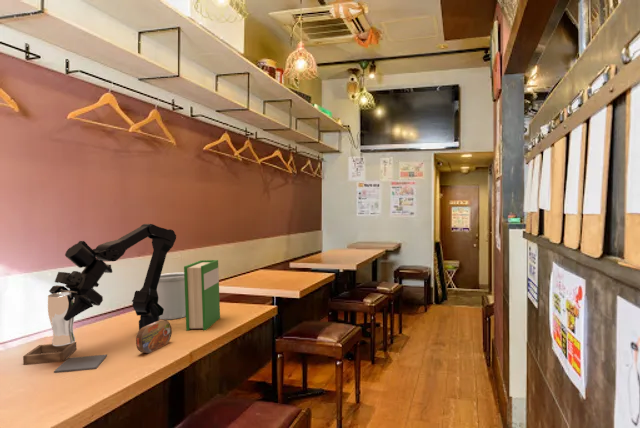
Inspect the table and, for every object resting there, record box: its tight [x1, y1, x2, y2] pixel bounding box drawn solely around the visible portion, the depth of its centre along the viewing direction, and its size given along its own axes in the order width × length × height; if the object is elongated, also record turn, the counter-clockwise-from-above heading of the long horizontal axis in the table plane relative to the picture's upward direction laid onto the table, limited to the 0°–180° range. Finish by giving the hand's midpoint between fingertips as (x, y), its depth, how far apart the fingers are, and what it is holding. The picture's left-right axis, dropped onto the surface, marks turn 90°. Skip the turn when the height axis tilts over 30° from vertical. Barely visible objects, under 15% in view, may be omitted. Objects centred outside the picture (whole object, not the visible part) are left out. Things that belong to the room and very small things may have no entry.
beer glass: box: [47, 292, 76, 346], centre depth 131 cm, size 7×7×15 cm
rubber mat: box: [53, 354, 108, 374], centre depth 128 cm, size 11×11×1 cm
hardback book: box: [183, 259, 221, 332], centre depth 169 cm, size 18×7×24 cm, turn 176°
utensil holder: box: [157, 271, 186, 321], centre depth 184 cm, size 15×15×18 cm
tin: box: [135, 319, 173, 354], centre depth 141 cm, size 15×3×8 cm, turn 163°
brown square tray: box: [22, 341, 77, 366], centre depth 135 cm, size 11×11×2 cm
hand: (58, 319), depth 129 cm, fingers closed on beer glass, 7 cm apart
